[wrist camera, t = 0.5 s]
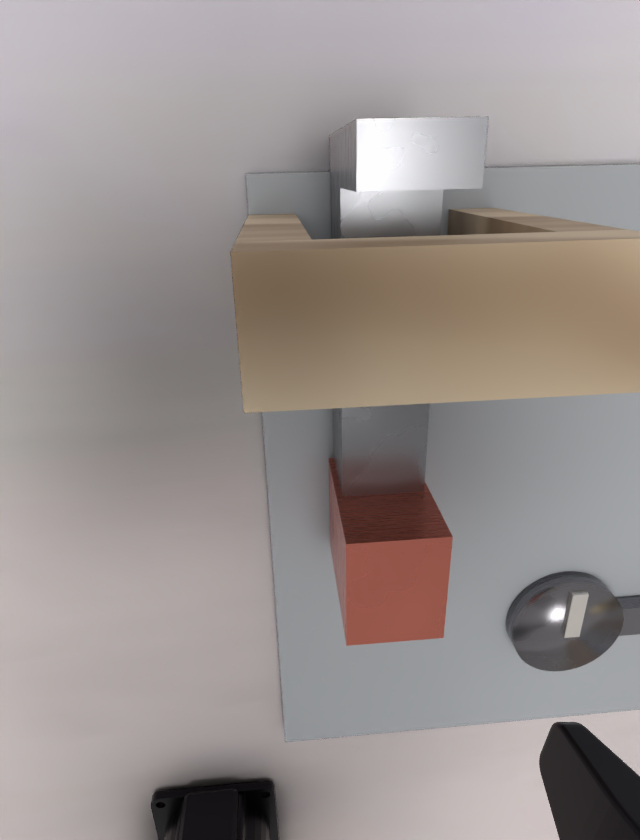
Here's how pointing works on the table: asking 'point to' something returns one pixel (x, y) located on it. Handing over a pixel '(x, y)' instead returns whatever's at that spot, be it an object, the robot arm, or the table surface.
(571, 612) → the metal measuring spoon
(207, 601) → the table surface
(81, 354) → the table surface
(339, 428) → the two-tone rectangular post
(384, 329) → the tan rectangular block
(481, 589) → the board
